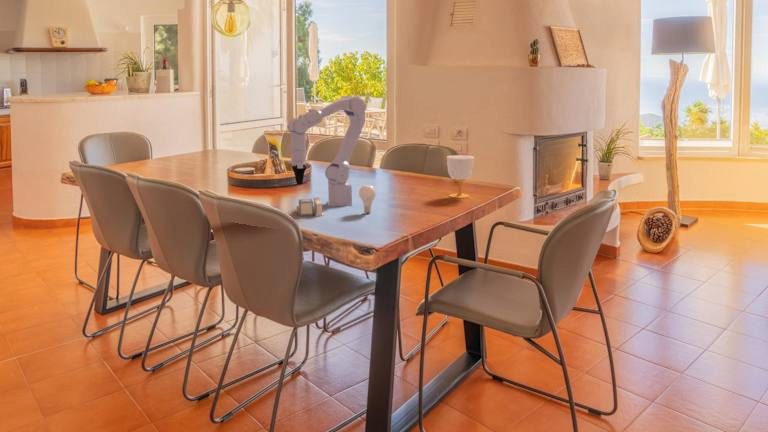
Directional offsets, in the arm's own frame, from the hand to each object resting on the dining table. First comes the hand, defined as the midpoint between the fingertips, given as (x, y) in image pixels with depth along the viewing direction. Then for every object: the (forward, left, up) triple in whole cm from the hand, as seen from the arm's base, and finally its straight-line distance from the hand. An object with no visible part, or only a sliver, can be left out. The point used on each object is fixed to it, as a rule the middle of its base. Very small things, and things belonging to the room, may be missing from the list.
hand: (299, 184), depth 248 cm
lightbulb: (-24, +14, -10) cm, 30 cm away
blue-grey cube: (-1, +11, -9) cm, 15 cm away
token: (0, +7, -10) cm, 12 cm away
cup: (-69, -11, -10) cm, 71 cm away
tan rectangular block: (-6, +10, -10) cm, 15 cm away
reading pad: (-1, +12, -10) cm, 15 cm away
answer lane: (0, +4, -10) cm, 11 cm away
